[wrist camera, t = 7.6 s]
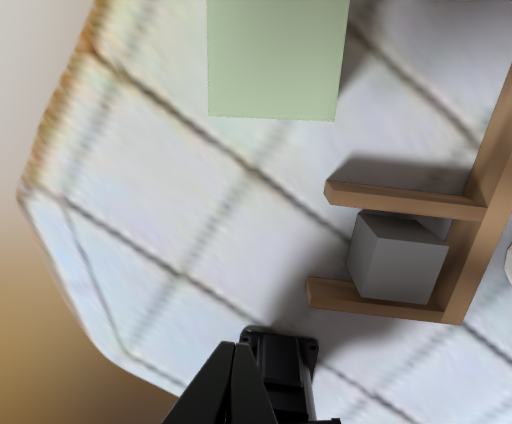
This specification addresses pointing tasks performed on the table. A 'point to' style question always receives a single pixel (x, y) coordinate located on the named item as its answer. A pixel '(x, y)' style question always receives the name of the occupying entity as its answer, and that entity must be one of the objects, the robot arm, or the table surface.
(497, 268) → the table surface
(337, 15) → the sage green block
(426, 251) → the slate grey cube
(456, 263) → the walnut slot rack
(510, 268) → the white cup
